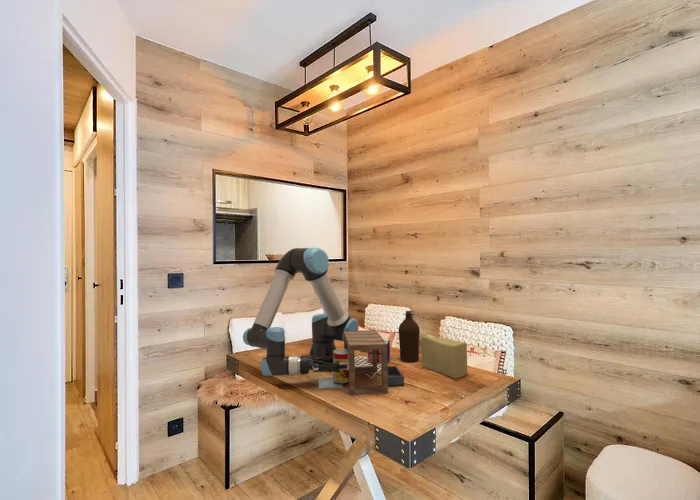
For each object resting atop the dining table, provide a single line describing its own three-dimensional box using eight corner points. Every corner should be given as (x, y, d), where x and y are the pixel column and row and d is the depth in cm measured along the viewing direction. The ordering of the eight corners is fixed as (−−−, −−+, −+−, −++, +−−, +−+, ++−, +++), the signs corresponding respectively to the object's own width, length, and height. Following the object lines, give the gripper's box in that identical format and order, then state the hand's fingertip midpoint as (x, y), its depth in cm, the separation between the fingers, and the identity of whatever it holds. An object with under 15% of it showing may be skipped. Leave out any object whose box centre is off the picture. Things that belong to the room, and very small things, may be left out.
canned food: (354, 381, 154) (353, 352, 154) (335, 383, 152) (335, 354, 152) (349, 375, 162) (349, 348, 162) (331, 377, 160) (331, 349, 160)
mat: (318, 379, 163) (318, 378, 163) (341, 378, 163) (341, 377, 163) (318, 389, 151) (318, 388, 151) (343, 388, 152) (343, 387, 152)
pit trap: (381, 375, 166) (381, 366, 166) (396, 374, 167) (396, 365, 167) (387, 386, 152) (387, 376, 152) (404, 385, 153) (404, 376, 153)
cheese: (415, 368, 177) (415, 336, 177) (429, 364, 183) (428, 333, 183) (455, 380, 159) (454, 344, 159) (468, 375, 165) (467, 341, 165)
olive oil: (404, 363, 183) (403, 313, 183) (395, 358, 193) (394, 310, 194) (423, 361, 186) (423, 311, 187) (414, 356, 196) (413, 308, 197)
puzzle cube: (388, 364, 184) (387, 343, 184) (368, 363, 186) (367, 343, 186) (390, 358, 194) (389, 339, 194) (371, 357, 196) (370, 338, 196)
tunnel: (344, 372, 171) (343, 331, 171) (376, 371, 173) (376, 330, 173) (350, 394, 144) (349, 345, 144) (388, 392, 146) (387, 344, 146)
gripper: (300, 366, 166) (351, 364, 168) (298, 382, 145) (356, 379, 147) (300, 349, 166) (351, 347, 168) (298, 363, 145) (356, 360, 147)
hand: (353, 362), depth 158 cm, fingers closed on canned food, 8 cm apart
